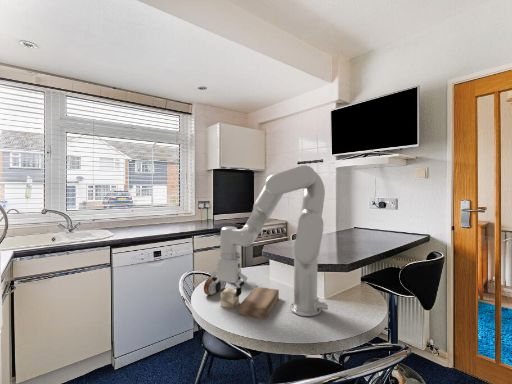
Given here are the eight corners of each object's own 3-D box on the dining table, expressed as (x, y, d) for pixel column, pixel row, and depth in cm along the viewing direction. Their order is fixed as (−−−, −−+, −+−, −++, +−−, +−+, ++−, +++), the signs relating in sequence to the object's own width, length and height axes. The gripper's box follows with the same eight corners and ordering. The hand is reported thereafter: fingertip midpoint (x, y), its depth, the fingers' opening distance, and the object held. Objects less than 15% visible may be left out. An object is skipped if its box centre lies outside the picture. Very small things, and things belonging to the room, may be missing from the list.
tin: (223, 286, 145) (222, 270, 144) (228, 287, 143) (227, 271, 143) (203, 297, 132) (203, 279, 132) (208, 298, 130) (208, 280, 130)
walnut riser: (278, 298, 130) (278, 289, 130) (265, 318, 111) (265, 308, 111) (256, 295, 134) (256, 286, 134) (239, 314, 115) (239, 304, 115)
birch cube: (238, 302, 126) (238, 289, 126) (233, 308, 120) (233, 294, 120) (226, 300, 128) (226, 287, 128) (220, 306, 122) (220, 293, 122)
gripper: (250, 255, 124) (249, 293, 125) (215, 251, 129) (214, 287, 130) (244, 260, 117) (243, 300, 118) (207, 255, 122) (206, 294, 123)
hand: (228, 293), depth 124 cm, fingers open, 9 cm apart
